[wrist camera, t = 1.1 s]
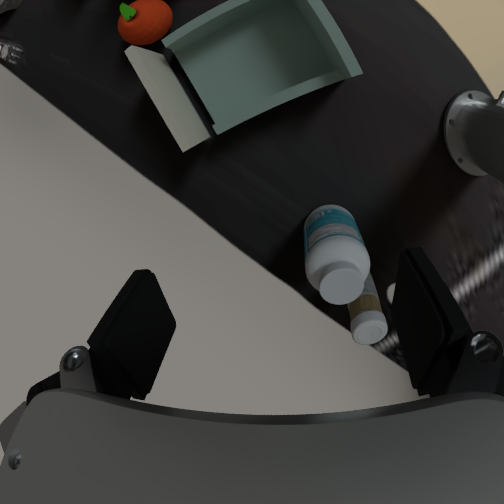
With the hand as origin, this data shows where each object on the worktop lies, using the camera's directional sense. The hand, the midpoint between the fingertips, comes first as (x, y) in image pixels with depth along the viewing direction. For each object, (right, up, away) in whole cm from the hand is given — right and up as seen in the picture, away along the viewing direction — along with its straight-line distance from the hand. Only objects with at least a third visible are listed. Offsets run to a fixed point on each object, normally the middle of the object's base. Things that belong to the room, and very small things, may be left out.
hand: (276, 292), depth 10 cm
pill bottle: (+10, +5, +28) cm, 30 cm away
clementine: (-14, +32, +15) cm, 38 cm away
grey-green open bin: (-1, +25, +17) cm, 30 cm away
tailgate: (-9, +21, +19) cm, 30 cm away
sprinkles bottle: (+15, -1, +31) cm, 35 cm away
